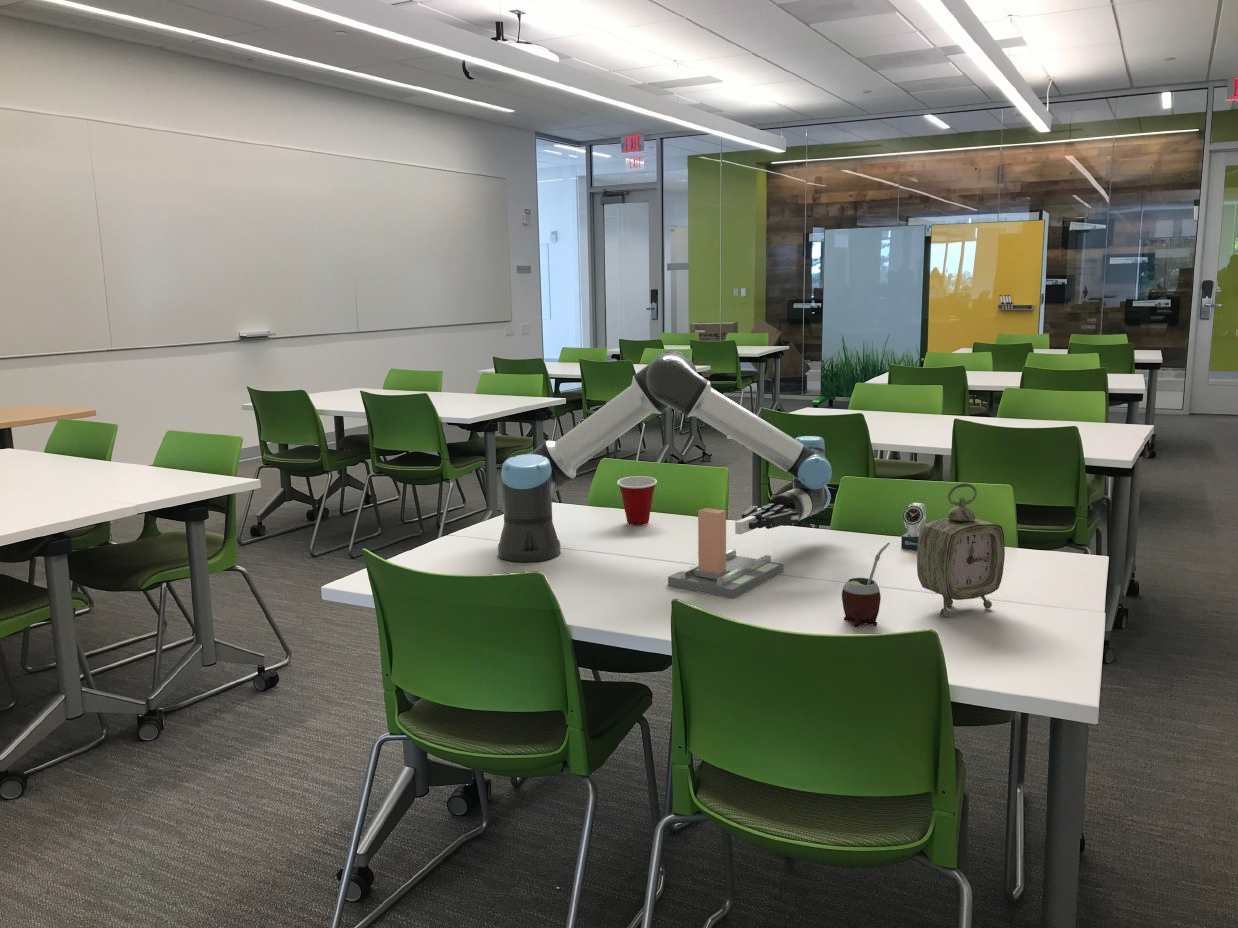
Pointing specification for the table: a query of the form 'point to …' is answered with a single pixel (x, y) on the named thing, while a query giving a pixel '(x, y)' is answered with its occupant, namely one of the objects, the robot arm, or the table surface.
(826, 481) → the robot arm
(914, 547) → the watch
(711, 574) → the switch lever
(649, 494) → the plastic cup
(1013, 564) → the table surface
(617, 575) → the table surface
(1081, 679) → the table surface
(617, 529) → the table surface
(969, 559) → the tabletop clock
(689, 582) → the switch panel
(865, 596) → the mate gourd
